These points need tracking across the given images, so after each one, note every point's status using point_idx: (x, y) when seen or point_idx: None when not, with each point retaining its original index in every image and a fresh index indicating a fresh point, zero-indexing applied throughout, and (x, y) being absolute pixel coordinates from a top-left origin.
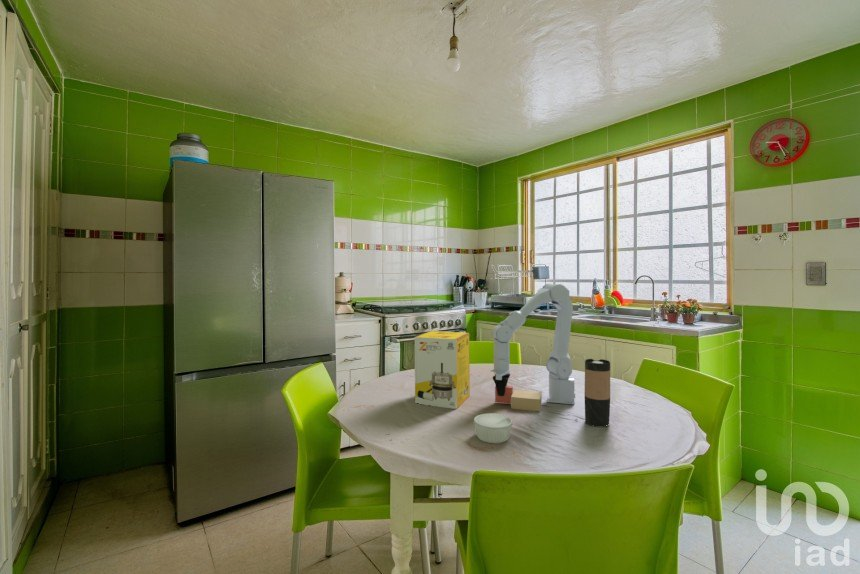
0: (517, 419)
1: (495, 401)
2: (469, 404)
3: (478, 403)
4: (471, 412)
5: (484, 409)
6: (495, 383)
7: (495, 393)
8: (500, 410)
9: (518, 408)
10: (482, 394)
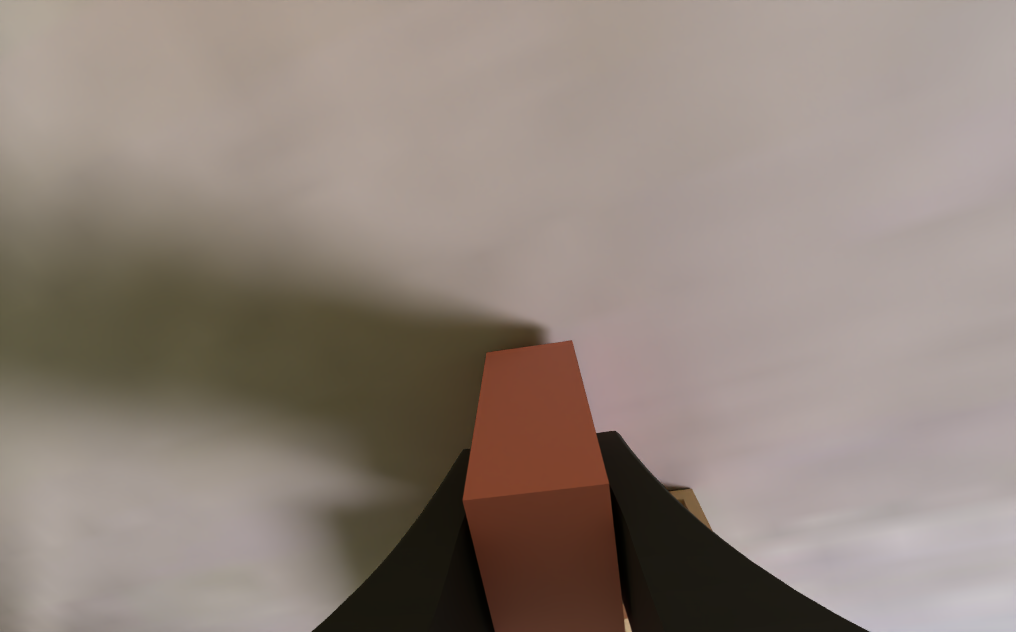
0: (194, 613)
1: (486, 359)
2: (289, 13)
3: (404, 130)
4: (34, 181)
5: (236, 289)
6: (324, 626)
7: (478, 419)
8: (315, 448)
9: None
10: (874, 11)
